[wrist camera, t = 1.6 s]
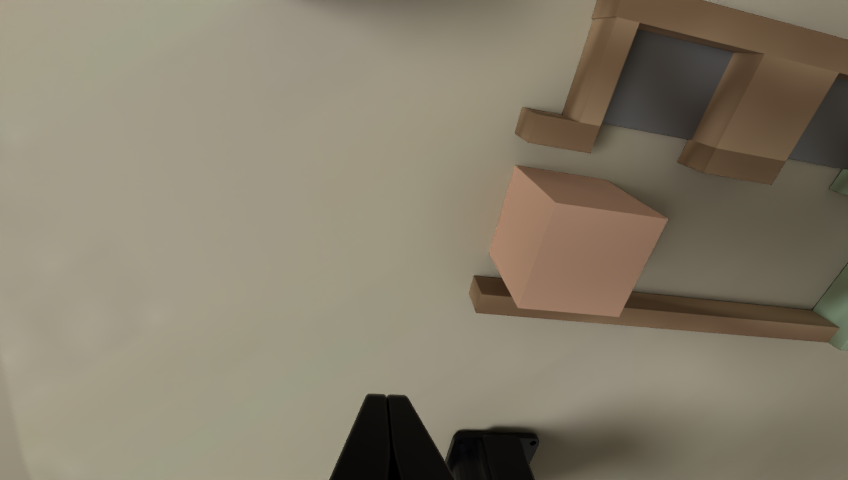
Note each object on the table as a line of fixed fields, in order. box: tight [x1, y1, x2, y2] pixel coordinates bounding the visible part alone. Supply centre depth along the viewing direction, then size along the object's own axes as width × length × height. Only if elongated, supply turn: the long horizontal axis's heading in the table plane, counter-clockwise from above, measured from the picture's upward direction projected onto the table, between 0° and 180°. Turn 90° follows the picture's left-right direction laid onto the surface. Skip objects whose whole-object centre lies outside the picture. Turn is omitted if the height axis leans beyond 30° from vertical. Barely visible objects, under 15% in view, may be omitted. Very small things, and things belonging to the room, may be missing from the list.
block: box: [489, 165, 668, 317], centre depth 19 cm, size 5×5×5 cm
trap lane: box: [469, 0, 848, 351], centre depth 20 cm, size 16×25×2 cm, turn 79°
